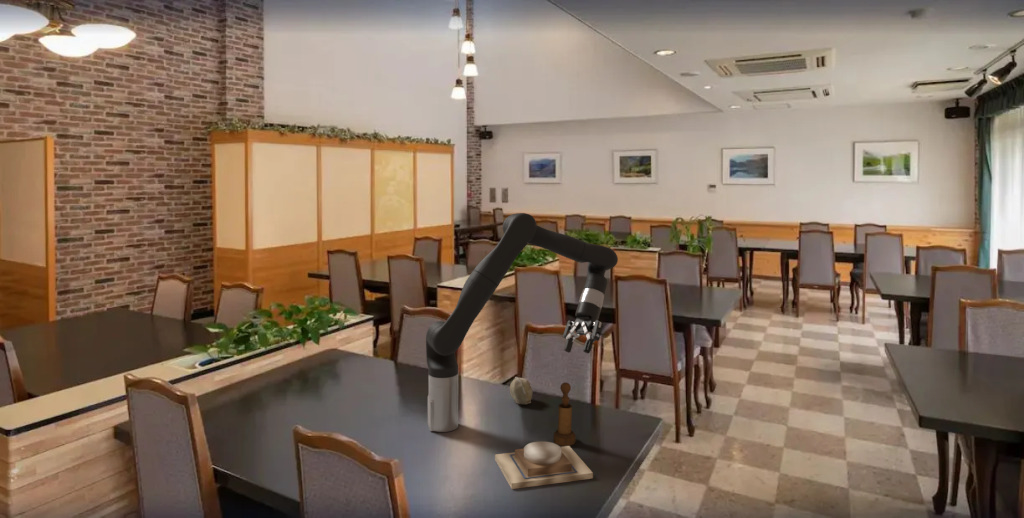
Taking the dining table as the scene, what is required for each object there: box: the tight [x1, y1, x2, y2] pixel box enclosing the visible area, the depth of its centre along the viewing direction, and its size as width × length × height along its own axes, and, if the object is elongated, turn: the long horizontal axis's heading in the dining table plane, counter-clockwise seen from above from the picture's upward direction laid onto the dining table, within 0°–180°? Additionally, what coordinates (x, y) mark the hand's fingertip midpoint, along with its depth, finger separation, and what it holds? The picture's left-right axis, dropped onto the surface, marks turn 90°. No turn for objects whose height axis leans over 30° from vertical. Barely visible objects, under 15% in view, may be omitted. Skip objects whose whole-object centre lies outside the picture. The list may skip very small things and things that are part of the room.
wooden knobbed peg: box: [553, 382, 576, 447], centre depth 180 cm, size 7×6×18 cm
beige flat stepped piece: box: [494, 441, 594, 490], centre depth 163 cm, size 22×17×6 cm
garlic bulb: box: [509, 376, 533, 405], centre depth 213 cm, size 9×8×10 cm
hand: (576, 352), depth 191 cm, fingers open, 8 cm apart
